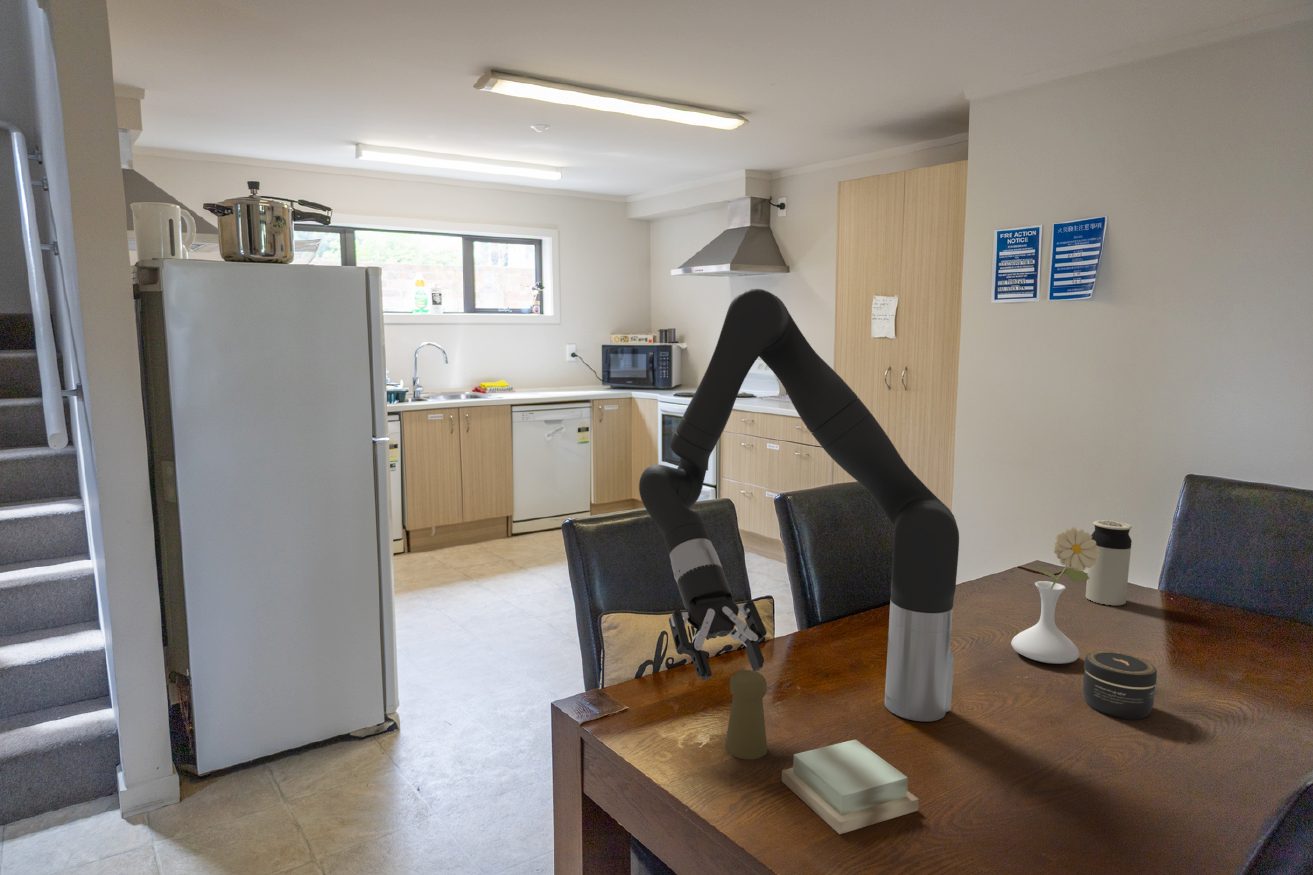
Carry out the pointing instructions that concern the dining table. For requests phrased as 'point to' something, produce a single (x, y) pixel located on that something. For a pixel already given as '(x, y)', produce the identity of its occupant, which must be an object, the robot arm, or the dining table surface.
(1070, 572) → the flower in vase
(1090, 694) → the jar
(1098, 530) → the travel mug
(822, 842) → the dining table surface
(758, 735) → the cork
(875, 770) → the plinth
